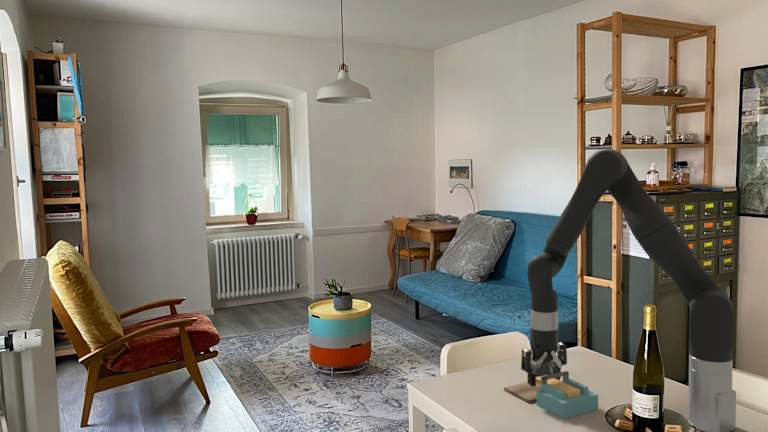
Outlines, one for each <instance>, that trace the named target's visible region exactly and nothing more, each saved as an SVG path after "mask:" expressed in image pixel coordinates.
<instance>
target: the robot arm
mask: <svg viewBox="0 0 768 432" xmlns="http://www.w3.org/2000/svg"><path fill="white" fill-rule="evenodd" d="M606 192H608V193H609V194H610V195H611V197H612V198H613V199H614V200H615V201H616V203H617V204H618V206H619V207H620V210H621V211H622V214H623V216H624V219H625V221H626V223H627V226H628V227H629V230H630V231H631V233H632V235H633V237H634V238H635V240H636V241H637V243H638V244H639V245H640V247H641V248H642V250H644V253H645V254H646V255H647V256H648V258H649V259H651V260H652V262H653V263H655V265H656V266H657V267H658V268H660V270H662V272H663V273H665V274H666V275H667V276H668V277H669V278H670V279H671V280H672V281H673V283H674V284H675V285H676V287H677V288H678V290H679V291H680V293H681V295H682V296H683V297H684V299H685V301H686V302H687V305H688V307H689V323H688V324H689V325H688V326H689V328H688V331H689V339H688V348H689V351H688V353H689V355H688V361H689V362H688V407H687V408H688V412H687V413H688V417H687V418H688V420H689V421H690V422H691V423H693V424H694V426H695V427H696V428H695V429H696V430H699V431H701V432H702V431H703V432H732V431H735V430H736V420H737V417H736V416H737V415H736V414H737V391H736V390H734V389H733V370H734V369H733V362H734V361H733V360H734V349H735V345H734V344H735V308H734V305H733V302H732V300H731V298H730V297H729V296H728V295H727V293H726V292H725V291H724V290H722V289H721V286H719V285H718V284H717V283H716V282H715V281H714V280H713V279H712V277H711V276H710V275H709V274H708V273H707V272H706V271H705V269H704V268H703V267H702V265H701V264H700V263H699V261H698V260H697V258H696V256H695V254H694V252H693V250H692V249H691V247H690V246H689V243H688V242H687V241H686V240H685V238H684V237H683V236H682V234H681V232H680V231H679V230H678V228H677V227H676V225H675V224H674V223H673V222H672V220H671V218H669V216H668V215H667V214H666V212H664V211H663V209H662V208H661V206H659V204H658V203H657V202H656V201H655V199H653V197H652V196H651V195H650V194H649V193H648V192H647V191H646V189H645V188H644V187H643V186H642V184H641V182H640V180H639V179H638V178H637V176H636V174H635V173H634V171H633V170H632V168H631V165H630V164H629V162H628V160H627V158H626V157H625V156H624V155H623V154H622V153H621V152H620V151H618V150H615V149H608V148H607V149H600V150H598V151H595V152H594V153H592V155H591V156H589V158H588V159H587V161H586V164H585V166H584V168H583V171H582V174H581V177H580V179H579V182H578V184H577V185H576V188H575V190H574V192H573V194H572V196H571V198H570V200H569V201H568V203H567V204H566V206H565V208H564V210H562V213H561V214H560V215H559V217H558V219H557V220H556V221H555V223H554V225H553V226H552V229H551V230H550V231H549V233H548V235H547V236H546V244H545V247H544V249H543V250H542V252H541V254H539V255H536V256H533V257H532V258H531V259H530V260H529V262H528V263H527V268H526V275H527V276H526V277H527V280H528V286H529V291H530V296H531V297H530V304H531V305H530V306H531V307H530V319H529V320H530V321H529V327H530V329H529V330H530V331H529V332H530V333H529V334H530V339H529V340H530V343H531V348H530V349H526V348H522V349H521V363H520V364H521V365H520V366H521V367H520V369H521V371H523V372H525V373H527V382H528V384H529V385H530V386H532V387H534V386H536V374H535V372H536V370H537V368H538V367H540V366H541V364H543V363H546V362H551V363H552V365H553V374H556V373H560V372H562V368H563V366H566V365H567V364H568V354H567V353H568V352H567V344H565V343H563V342H559V314H558V293H557V291H556V290H555V289H554V287H553V285H554V284H553V278H556V276H557V275H559V273H560V272H561V270H562V269H563V267H564V265H565V263H566V261H567V258H568V256H569V254H570V252H571V250H572V249H573V248H574V246H575V244H576V243H577V241H578V239H579V238H580V236H581V234H582V233H583V231H584V229H585V227H586V226H587V223H588V221H589V219H590V217H591V214H592V212H593V210H594V209H595V207H596V205H597V204H598V202H599V201H600V200H601V198H602V197H603V196H604V194H605V193H606ZM556 353H557V354H556ZM535 360H536V361H537V362H534V361H535ZM533 365H534V366H533ZM532 367H533V368H532ZM561 378H562V376H561V377H556V378H555V379H557V380H560V381H561Z"/></svg>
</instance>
